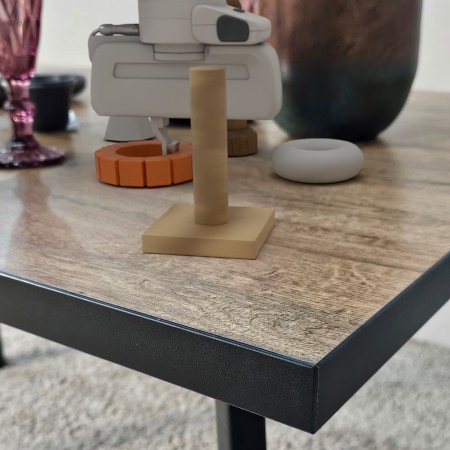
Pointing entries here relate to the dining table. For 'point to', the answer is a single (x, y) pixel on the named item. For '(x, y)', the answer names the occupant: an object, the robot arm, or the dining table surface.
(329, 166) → the donut
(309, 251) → the dining table surface
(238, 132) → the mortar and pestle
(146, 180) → the ring
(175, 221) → the stand
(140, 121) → the flask
